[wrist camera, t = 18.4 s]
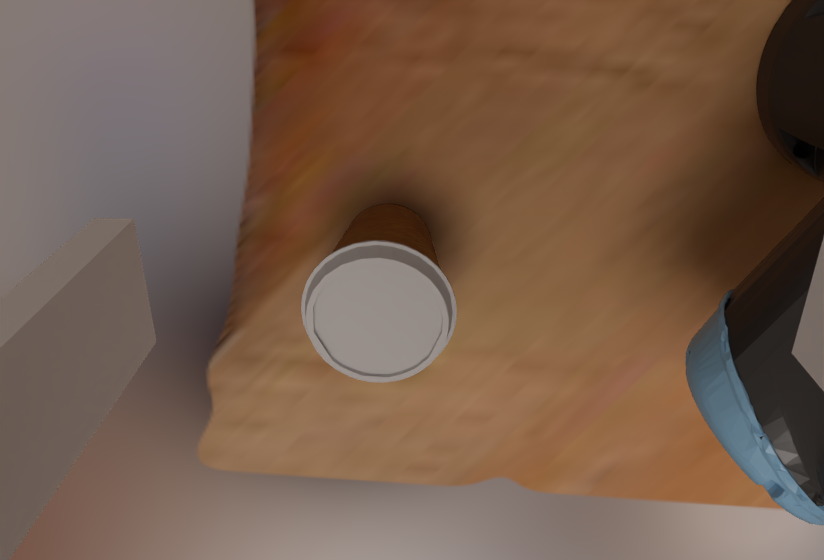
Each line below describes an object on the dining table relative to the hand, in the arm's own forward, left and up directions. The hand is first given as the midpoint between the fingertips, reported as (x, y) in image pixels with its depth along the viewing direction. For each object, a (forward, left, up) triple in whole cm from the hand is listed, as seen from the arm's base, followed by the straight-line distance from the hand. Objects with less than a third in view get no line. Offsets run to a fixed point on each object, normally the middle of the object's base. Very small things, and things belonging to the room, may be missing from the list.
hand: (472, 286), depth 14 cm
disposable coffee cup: (+4, +15, -37) cm, 40 cm away
